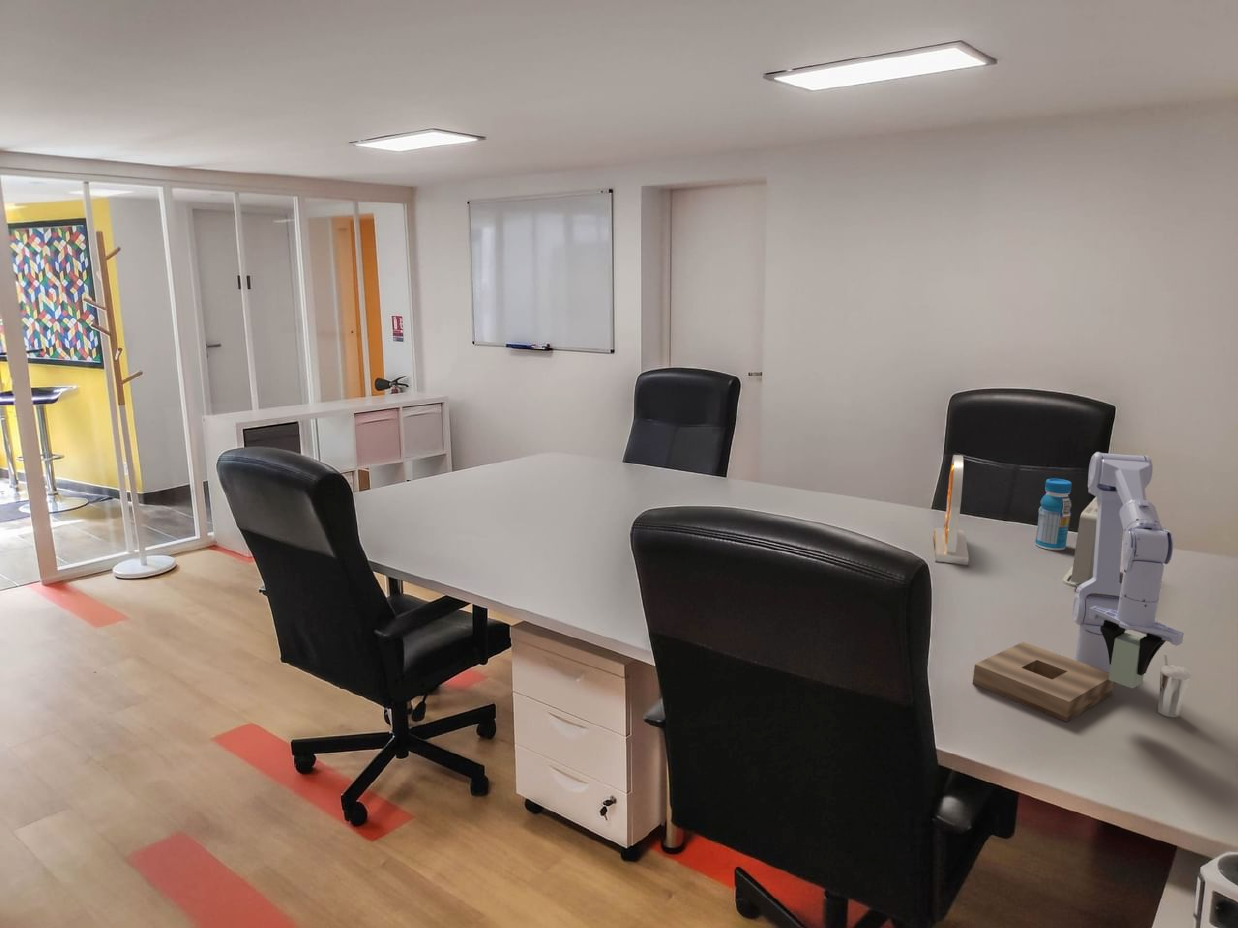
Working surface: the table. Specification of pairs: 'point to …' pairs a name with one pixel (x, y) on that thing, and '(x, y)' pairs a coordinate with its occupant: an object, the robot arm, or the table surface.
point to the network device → (1084, 547)
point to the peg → (1126, 661)
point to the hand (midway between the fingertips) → (1127, 668)
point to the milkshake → (1172, 689)
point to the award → (952, 521)
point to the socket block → (1043, 680)
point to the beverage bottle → (1054, 515)
